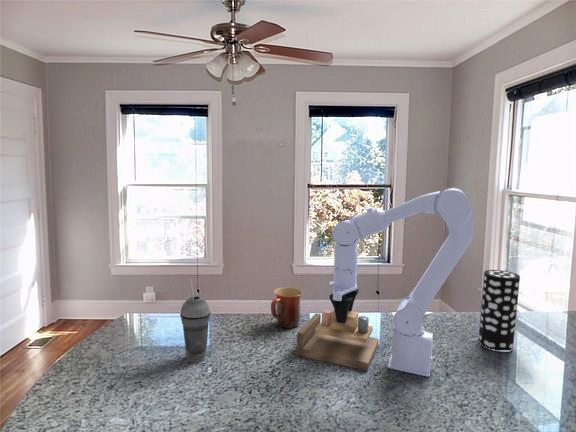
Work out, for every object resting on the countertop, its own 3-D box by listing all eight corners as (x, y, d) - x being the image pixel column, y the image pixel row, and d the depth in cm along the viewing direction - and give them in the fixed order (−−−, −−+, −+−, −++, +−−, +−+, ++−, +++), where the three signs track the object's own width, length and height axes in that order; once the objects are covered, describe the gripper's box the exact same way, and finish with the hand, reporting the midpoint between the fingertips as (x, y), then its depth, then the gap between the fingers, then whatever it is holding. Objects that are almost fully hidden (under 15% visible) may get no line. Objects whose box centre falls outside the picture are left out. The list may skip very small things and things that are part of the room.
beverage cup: (203, 367, 90) (202, 285, 88) (175, 363, 92) (173, 283, 89) (215, 352, 97) (215, 276, 95) (189, 349, 99) (187, 274, 96)
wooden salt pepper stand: (372, 330, 99) (373, 311, 99) (366, 343, 92) (366, 323, 92) (324, 321, 105) (325, 303, 104) (315, 332, 97) (315, 314, 97)
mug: (285, 316, 122) (285, 285, 120) (308, 323, 116) (308, 291, 115) (260, 328, 112) (260, 295, 111) (283, 337, 107) (284, 301, 106)
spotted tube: (504, 339, 108) (510, 270, 105) (519, 353, 99) (526, 279, 97) (473, 337, 108) (479, 269, 106) (485, 351, 100) (492, 277, 98)
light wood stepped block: (378, 345, 102) (379, 324, 102) (367, 371, 90) (368, 346, 89) (315, 333, 109) (315, 313, 109) (296, 355, 97) (297, 332, 96)
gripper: (338, 259, 105) (336, 307, 106) (321, 272, 91) (319, 326, 93) (363, 262, 102) (361, 311, 103) (350, 276, 89) (348, 332, 90)
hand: (343, 319), depth 98 cm, fingers closed on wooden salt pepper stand, 4 cm apart
